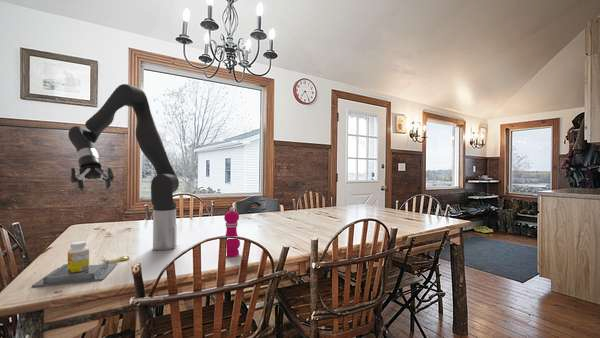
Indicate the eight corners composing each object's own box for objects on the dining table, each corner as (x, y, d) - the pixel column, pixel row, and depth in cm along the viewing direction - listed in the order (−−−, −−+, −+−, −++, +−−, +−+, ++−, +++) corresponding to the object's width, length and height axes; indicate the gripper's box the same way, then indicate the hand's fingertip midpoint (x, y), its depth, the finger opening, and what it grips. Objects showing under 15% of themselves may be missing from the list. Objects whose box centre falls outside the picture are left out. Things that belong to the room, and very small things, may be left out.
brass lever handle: (127, 257, 106) (127, 255, 106) (130, 259, 104) (130, 257, 104) (107, 262, 101) (107, 260, 101) (110, 264, 99) (110, 261, 99)
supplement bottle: (70, 271, 91) (70, 241, 91) (91, 268, 93) (91, 239, 93) (65, 277, 86) (64, 245, 86) (86, 274, 88) (86, 243, 88)
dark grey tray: (117, 264, 99) (117, 258, 99) (102, 280, 86) (102, 273, 86) (57, 269, 93) (57, 263, 93) (32, 287, 80) (32, 280, 80)
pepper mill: (235, 258, 108) (236, 209, 107) (218, 256, 109) (219, 208, 109) (242, 252, 115) (243, 206, 114) (227, 251, 116) (227, 205, 116)
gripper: (68, 153, 110) (74, 182, 102) (110, 154, 121) (117, 181, 113) (66, 166, 113) (71, 195, 106) (106, 166, 124) (114, 192, 117)
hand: (95, 188), depth 110 cm, fingers open, 8 cm apart
